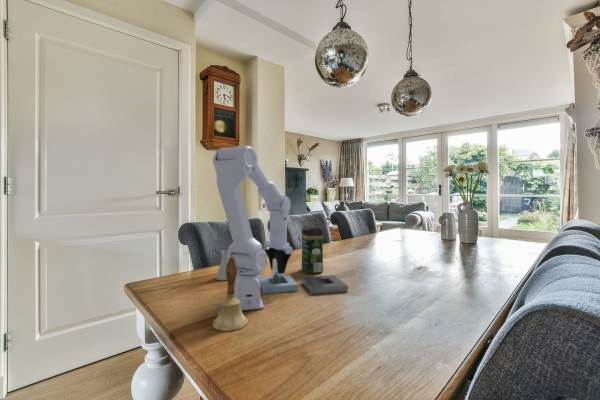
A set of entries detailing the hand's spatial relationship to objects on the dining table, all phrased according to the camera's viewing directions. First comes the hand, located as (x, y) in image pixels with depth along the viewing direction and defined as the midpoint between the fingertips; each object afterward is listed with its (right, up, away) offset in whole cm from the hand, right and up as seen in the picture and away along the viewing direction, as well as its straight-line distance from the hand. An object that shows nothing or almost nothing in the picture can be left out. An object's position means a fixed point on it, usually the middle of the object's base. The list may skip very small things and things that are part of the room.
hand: (277, 271), depth 96 cm
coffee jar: (+12, -5, +20) cm, 24 cm away
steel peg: (0, -3, 0) cm, 3 cm away
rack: (0, -5, 0) cm, 5 cm away
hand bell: (-9, -6, -27) cm, 29 cm away
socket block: (+15, -5, 0) cm, 16 cm away
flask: (-20, -5, +9) cm, 23 cm away
